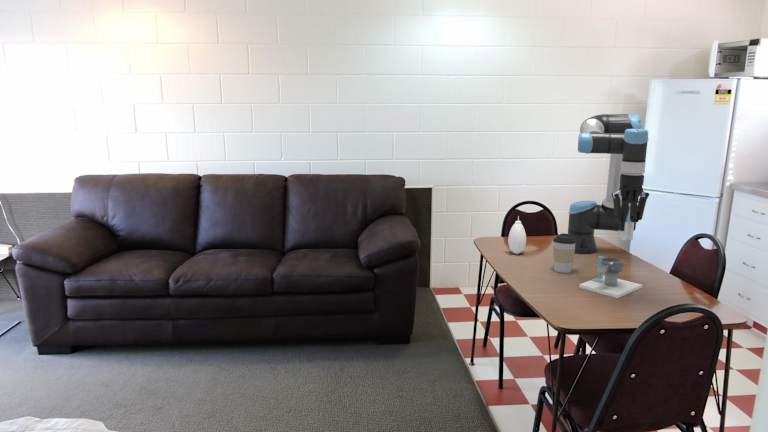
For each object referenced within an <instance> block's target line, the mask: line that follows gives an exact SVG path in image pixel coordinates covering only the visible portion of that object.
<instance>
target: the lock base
mask: <svg viewBox="0 0 768 432" xmlns="http://www.w3.org/2000/svg"><path fill="white" fill-rule="evenodd" d="M602 259H605V256H603V255H599V256H598V257H597V267H596V268H597V269H596V277H595V278H592V279H590V280H587V281H585V282H582V283H580V284H579V283H578V285H579V286H578V288H580V289H584V290H587V291H590V292H594V293H597V294H599V295H600V294H601V295H604V296H608V297H610V298H614V299H619V298H621V297H624V296H627V295H628V294H631V293H633V292H635V291H638V290H641V289H642V288H643V284H640V283H636V282H632V281H629V280H625V279H623V278H622V279H621V278H619V272H609V271H605V272H599V271H598V266H601V264H602ZM604 273H605V274H604Z"/></svg>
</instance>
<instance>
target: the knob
mask: <svg viewBox="0 0 768 432" xmlns="http://www.w3.org/2000/svg"><path fill="white" fill-rule="evenodd" d="M624 263H625V261H624V260H622V259H619V258H618V259H617V258H611V257H610V258H609V257H608V258H604V259H602V264H601V266H598V265H597V266H598V271H599V272H603V273H605V271H609V272H618V273H621V272H624V265H625V264H624Z"/></svg>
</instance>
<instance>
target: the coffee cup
mask: <svg viewBox="0 0 768 432" xmlns="http://www.w3.org/2000/svg"><path fill="white" fill-rule="evenodd" d="M552 241H553V246H552V249H553V252H552V253H553V254H552V255H553V260H552V261H553V270H554V271H555V272H558V273H561V274H562V273H563V274H567V273H571V272H572V269H573V264H574V263H573V262H574V257H575V254H576V253H575V244H576V239H575V238H574V237H573V236H571V235H568V233H560V234H556V236H554V237H553V240H552Z"/></svg>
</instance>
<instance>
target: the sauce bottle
mask: <svg viewBox="0 0 768 432" xmlns="http://www.w3.org/2000/svg"><path fill="white" fill-rule="evenodd" d="M508 233H509V234H508V238H507V239H508V240H507V243H508V248H509V250H510V251H511V252H512V254H515V255H519V254H521V252H524V250H525V248H526V244H527V234H526V233H527V232H526V231H525V227H524V226H523V224H522V221H521V220H520V216H519V215H518V216H517V220H515V222H514V224H513V225H512V226H511V228H510V231H509V232H508Z"/></svg>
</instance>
